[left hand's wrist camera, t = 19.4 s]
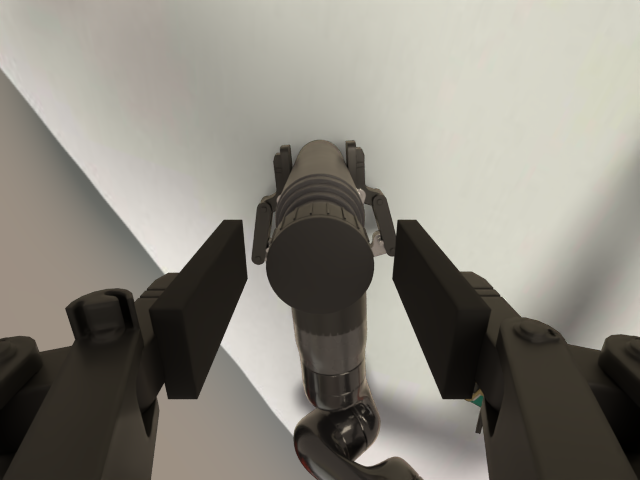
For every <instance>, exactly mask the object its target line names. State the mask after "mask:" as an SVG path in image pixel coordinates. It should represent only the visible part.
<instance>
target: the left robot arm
mask: <svg viewBox="0 0 640 480" xmlns="http://www.w3.org/2000/svg"><path fill="white" fill-rule="evenodd" d="M247 279H248V278H247V267H246V256H245V244H244V233H243V222H242V220H223V221H222V223H221V224H220V225H219V226H218V227H217V229H216V230H215V231H214V232H213V233H212V235H211V236H210V237H209V238H208V239H207V240H206V242H205V243H204V244H203V245H202V246H201V248H200V249H199V250H198V251H197V252H196V254H195V255H194V256H193V257H192V258H191V260H190V261H189V262H188V263H187V264H186V265H185V267H184V268H183V269H182V270H181V271H180V273H167V274H165V275H164V276H162V277H160V278H158V279H156V280H155V281H154V282H153V283H152V284H151V285H150V286H149V287H148V288H147V291H145V292H144V293H143V294H142V295H141V296H140V298H138V299H137V300H136V301H135V302H134V299H133V295H132V293H131V292H130V291H128V290H126V289H119V288H115V289H105V290H100V291H95V292H92V293H89V294H87V295H84V296H82V297H80V298H78V299H76V300H75V301H73V302H71V303H70V304H69V305H68V306H67V307H66V308H65V309H66V312H67V315H68V319H69V322H70V325H71V328H72V331H73V334H74V337H75V341H74V343H73V345H72V346H69V347H64V348H59V349H53V350H48V351H43V352H39V350H38V347H37V344H36V342H35V340H34V339H32V338H31V337H26V336H16V337H9V338H2V339H0V480H151V474H152V465H153V458H154V449H155V441H156V433H157V425H158V417H159V406H158V401H157V395H158V393H159V391H160V389H161V387H162V386H163V384H164V383H165V387H166V392H167V396H168V399H198V396H199V394H200V391H201V389H202V387H203V384H204V382H205V379H206V377H207V375H208V372H209V370H210V367H211V365H212V363H213V360H214V358H215V356H216V353H217V351H218V348H219V346H220V344H221V341H222V339H223V336H224V334H225V332H226V329H227V327H228V324H229V322H230V320H231V317H232V315H233V312H234V310H235V308H236V305H237V303H238V301H239V298H240V296H241V293H242V291H243V289H244V286H245V284H246V281H247ZM392 279H393V281H394V284H395V286H396V289H397V291H398V293H399V296H400V298H401V301H402V303H403V305H404V308H405V310H406V312H407V315H408V317H409V320H410V322H411V324H412V327H413V329H414V332H415V334H416V336H417V339H418V341H419V344H420V346H421V348H422V351H423V353H424V356H425V358H426V360H427V363H428V365H429V368H430V370H431V372H432V375H433V377H434V380H435V382H436V384H437V387H438V389H439V392H440V394H441V396H442V399H472V396H473V392H474V387H475V383H476V382H477V384H478V386H479V388H480V389H481V391H482V393H483V395H484V396H483V401H482V405H481V409H480V413H479V418H478V422H477V426H476V432H475V433H479V434H480V433H481V429H482V426H483V433H484V441H485V449H486V457H487V465H488V473H489V480H640V337H637V336H629V335H622V334H620V335H611V336H609V337H608V338H606V339H605V342H604V344H603V347H602V350H601V351H600V350H595V349H590V348H585V347H579V346H574V345H569V344H567V342H566V341H565V339H564V338H563V336H562V335H561V334H560V333H559V332H558V331H556V330H555V329H553V328H552V327H550V326H549V325H546V324H544V323H542V322H540V321H537V320H533V319H529V318H524V317H521V316H520V315H519V314H518V313H517V312H516V311H515V310H514V309H513V308H512V307H511V306H510V305H509V304H508V303H507V302H506V301H505V300H504V298H503V297H500V294H499V293H498V292H497V291H496V290H493V287H492V286H491V285H490V284H489V283H488V282H487V281H486V280H485V279H484V278H482V277H480V276H479V275H477V274H475V273H473V272H460V271H459V270H458V269H457V268H456V267H455V265H454V264H453V263H452V262H451V261H450V260H449V258H448V257H447V256H446V255H445V254H444V252H443V251H442V250H441V249H440V248H439V246H438V245H437V244H436V243H435V242H434V240H433V239H432V238H431V237H430V236H429V235H428V233H427V232H426V231H425V230H424V229H423V227H422V226H421V225H420V224H419V223H418V221H417V220H398V222H397V233H396V244H395V256H394V267H393V278H392Z"/></svg>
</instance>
